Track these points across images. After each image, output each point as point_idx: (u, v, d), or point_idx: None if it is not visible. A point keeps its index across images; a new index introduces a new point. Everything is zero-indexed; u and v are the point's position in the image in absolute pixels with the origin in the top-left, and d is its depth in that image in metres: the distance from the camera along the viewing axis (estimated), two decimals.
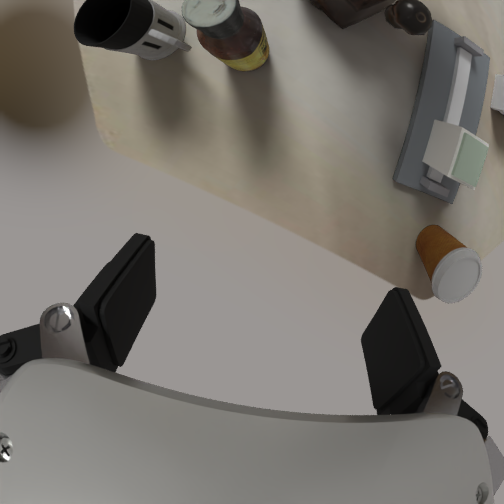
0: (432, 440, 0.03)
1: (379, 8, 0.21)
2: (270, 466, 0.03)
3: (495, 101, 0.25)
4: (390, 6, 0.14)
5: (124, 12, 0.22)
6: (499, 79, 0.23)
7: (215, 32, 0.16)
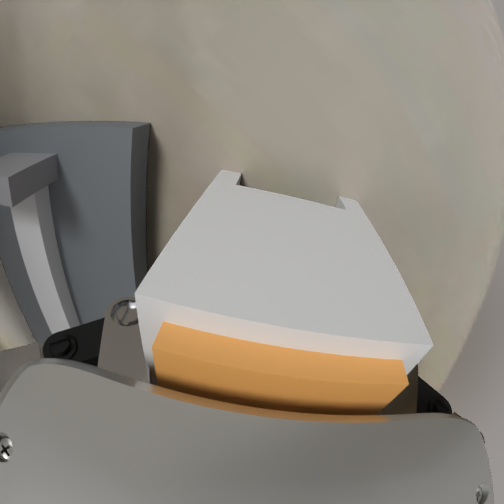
0: (432, 439, 0.03)
1: None
2: (270, 466, 0.03)
3: None
4: None
5: None
6: None
7: None
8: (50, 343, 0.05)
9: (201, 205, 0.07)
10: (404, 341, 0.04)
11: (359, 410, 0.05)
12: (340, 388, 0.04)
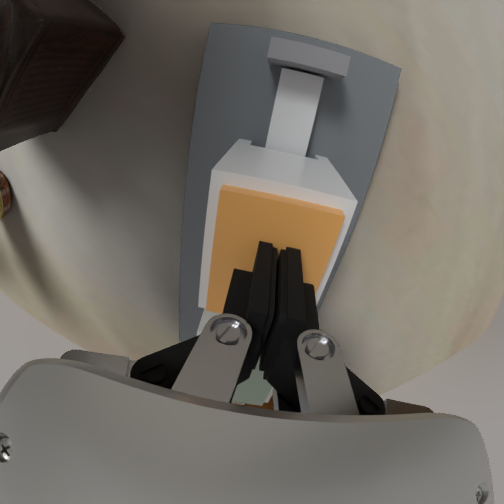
0: (433, 440, 0.03)
1: (65, 80, 0.12)
2: (270, 466, 0.03)
3: None
4: None
5: None
6: None
7: None
8: (142, 372, 0.06)
9: (232, 150, 0.13)
10: (339, 195, 0.10)
11: (323, 238, 0.10)
12: (307, 213, 0.10)
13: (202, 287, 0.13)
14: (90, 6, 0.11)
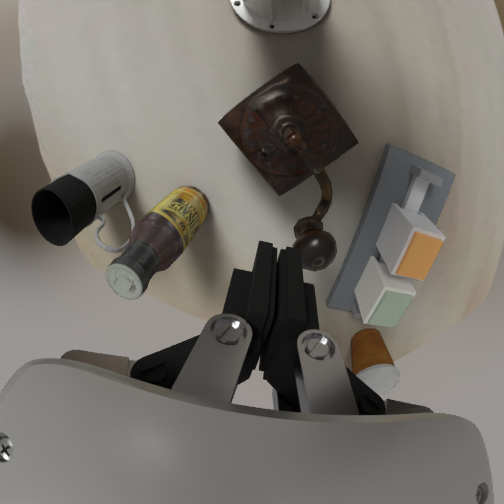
0: (433, 440, 0.03)
1: None
2: (270, 466, 0.03)
3: (380, 241, 0.37)
4: (300, 223, 0.24)
5: None
6: (393, 212, 0.34)
7: None
8: (142, 372, 0.06)
9: (403, 213, 0.31)
10: (441, 235, 0.28)
11: (437, 248, 0.29)
12: (435, 241, 0.28)
13: (395, 265, 0.31)
14: None
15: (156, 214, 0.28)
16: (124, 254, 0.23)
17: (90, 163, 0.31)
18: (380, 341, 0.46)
